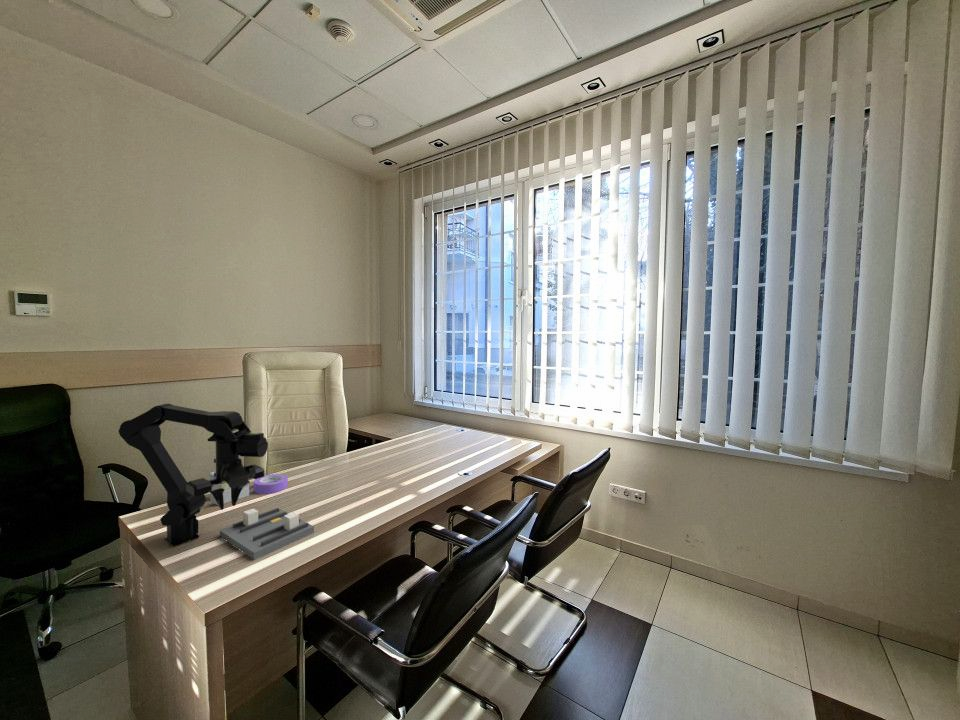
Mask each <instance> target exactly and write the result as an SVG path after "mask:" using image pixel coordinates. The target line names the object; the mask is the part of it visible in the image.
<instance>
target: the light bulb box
mask: <svg viewBox="0 0 960 720" xmlns="http://www.w3.org/2000/svg"><path fill="white" fill-rule="evenodd" d="M243 467H244V466H243ZM215 472H216V471H212V472H210V473H209V480H212V479H216V477H215V476H214V473H215ZM221 488H223V489H225V490H224V492H223V501H224V505H225V504H229V503H232V501H231V488H230V487H229V485H228V484H227V483H223V484H221ZM209 493H210V492H209ZM249 496H250V483H249V484H246V485H245V486H244V487H243V488H242V490H241V492H240V495H239V497H238V500H241V499H244V498H247V497H249ZM209 497H210V502H211V503H212V504H214V505H216V506H218V507H219V505H218V504H217V502H216V500H215V498H214V496H213V495H212V493H210V495H209Z"/></svg>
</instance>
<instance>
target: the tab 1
mask: <svg viewBox="0 0 960 720" xmlns="http://www.w3.org/2000/svg"><path fill="white" fill-rule="evenodd" d="M258 515H259V510H257V509H256V508H250V509H248V510H245V511H243V512H242V519H243V520H242V521H243V525H245V526H249V525H251V524H254V523H256V522H258Z"/></svg>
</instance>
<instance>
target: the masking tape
mask: <svg viewBox="0 0 960 720" xmlns="http://www.w3.org/2000/svg"><path fill="white" fill-rule="evenodd" d="M288 478H289V477H288V476H287V475H286V474H281V473H275V474H274V473H273V474H266V475H265V476H264V477H261V478H258V479H253V492H254V493H255V494H258V495H270V494H271V495H272V494H276V493H281V492H283V491H284V490H286V489H288V485H289V484H288V482H289V481H288ZM282 490H283V491H282Z"/></svg>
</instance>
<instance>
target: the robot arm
mask: <svg viewBox="0 0 960 720" xmlns="http://www.w3.org/2000/svg"><path fill="white" fill-rule="evenodd" d="M166 421H168V422H174V423H180V424H186V425H191V426H195V427H196V426H197V427H201V428H203V429H205V430H206V431H207V432H209V433H212V435H211V436H210V437H208V438H207V442H215V458H214V459H213V463H214V464H215V471H214V472H215V473H214V476H215V477H216V479H212V480H210V479H209V480H208V479H206V478H205V477H201V478H198V479H194V480H189V481H187V480H186V478H185V477H184V476H183V474H182V472H181V471H180V469H179V468H178V466H177V465H176V462H175V461H174V460H173V458H172V457H171V455H170V454H169V452H168V451H167V449H166V447H165V445H164V444H163V442H162V440H161V438H162V437H161V436H162V430H161V428H160V426H161V425H163V424H164V423H165V422H166ZM118 434H119V436H120V437H121V439H123V441H125V443H126V444H127V445H128V446H130V447H133V448H134V449H136V450H138V451H139V452H140V453H141V454H142V456H143V457H144V459H145V461H146V462H147V463H148V465H149V467H150V468H151V469H152V471H153V472H154V474H155V476H156V477H157V479H158V480H159V482H160V483H161V485H162V486H163V488H164V489H165V491H166V494H167V495H166V505H167V507H168V511H167V512H166V513H165V514H164V515H162V516H161V517H160V519H159V520H160V523H161V525H162V526H165V527H166V537H164V541H165V542H166V541H167V542H166V543H168V544H169V545H170V546H171V547H177V546H180V545H182V543H183V544H185V543H187V541H188V542H190V541H189V540H191V541H193V539H194V540H196V539H199V538H198V537H200V535H199V519H197V515H196V514H199V513H201V510H202V508H203V507H204V506H205V503H206V501H207V497H206V495H207V494H209V493H212V495H213V496H214V498H215V500H216V502H217V504H218V505H219V506H218V505H217V506H218V507H219V509H220V510H221V511H222V510H224V507H225V504H224V501H223V492H224V490H225V489H223V488H221V484H223V483H227V484H228V485H229V487H230V488H231V501H232V502H231V506H233V507H234V506H236V504H237V502H238V500H239V499H238V497H239V495H240V492H241V490H242V488H243V487H244V486H245V485H246V484H249V485H250V479H253V480H255V479H258V478H261V477H264V476H265V473H266V472H265V468H264V467H262V466H259V465H257V464H250V465H245V466H244V467H243V462H242V458H240V457H243V458H244V457H245V458H246V457H247V458H248V457H251V458H263V457H264V456H265V455H266V454H267V451H268V447H269V443H268V441H267V438H266V437H265V435H264V432H258V433H252V431H251V429H250V428H249V427H248V425H247V424H246V423H245V421H244V420H243V418H242V416H241V414H240V413H239V412H237V411H233V410H232V411H226V410H224V411H223V410H222V411H205V410H202V409H201V410H200V409H197V408H190V407H185V406H180V405H179V406H178V405H174V404H172V403H163V404H158V405H154V406H153V407H152V408H149V410H147V411H146V412H145V411H144V413H141V414H139V415H138V416H136V417H133V418H132V419H128V420H125V421H123V422H122V423H121V424H120V425H119V429H118ZM195 538H196V539H195ZM184 542H185V543H184ZM179 544H180V545H179ZM176 545H177V546H176Z"/></svg>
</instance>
